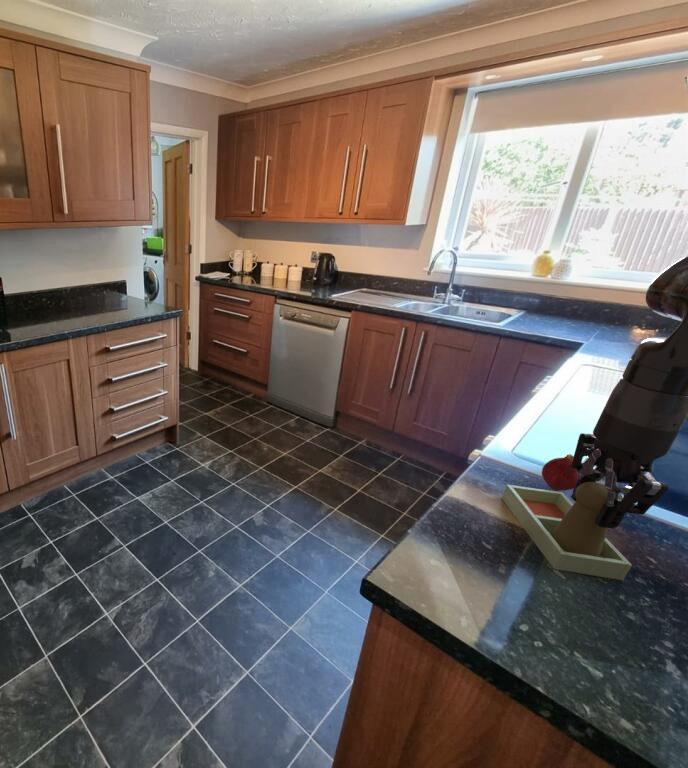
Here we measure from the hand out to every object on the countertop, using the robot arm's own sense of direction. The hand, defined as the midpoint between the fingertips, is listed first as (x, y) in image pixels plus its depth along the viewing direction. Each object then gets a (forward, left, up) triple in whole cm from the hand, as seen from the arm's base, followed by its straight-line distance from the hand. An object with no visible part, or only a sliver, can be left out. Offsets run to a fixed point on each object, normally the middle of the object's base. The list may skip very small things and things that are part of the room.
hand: (591, 512), depth 65 cm
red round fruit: (-7, -18, -8) cm, 21 cm away
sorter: (0, -4, -8) cm, 9 cm away
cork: (0, 0, -7) cm, 7 cm away
